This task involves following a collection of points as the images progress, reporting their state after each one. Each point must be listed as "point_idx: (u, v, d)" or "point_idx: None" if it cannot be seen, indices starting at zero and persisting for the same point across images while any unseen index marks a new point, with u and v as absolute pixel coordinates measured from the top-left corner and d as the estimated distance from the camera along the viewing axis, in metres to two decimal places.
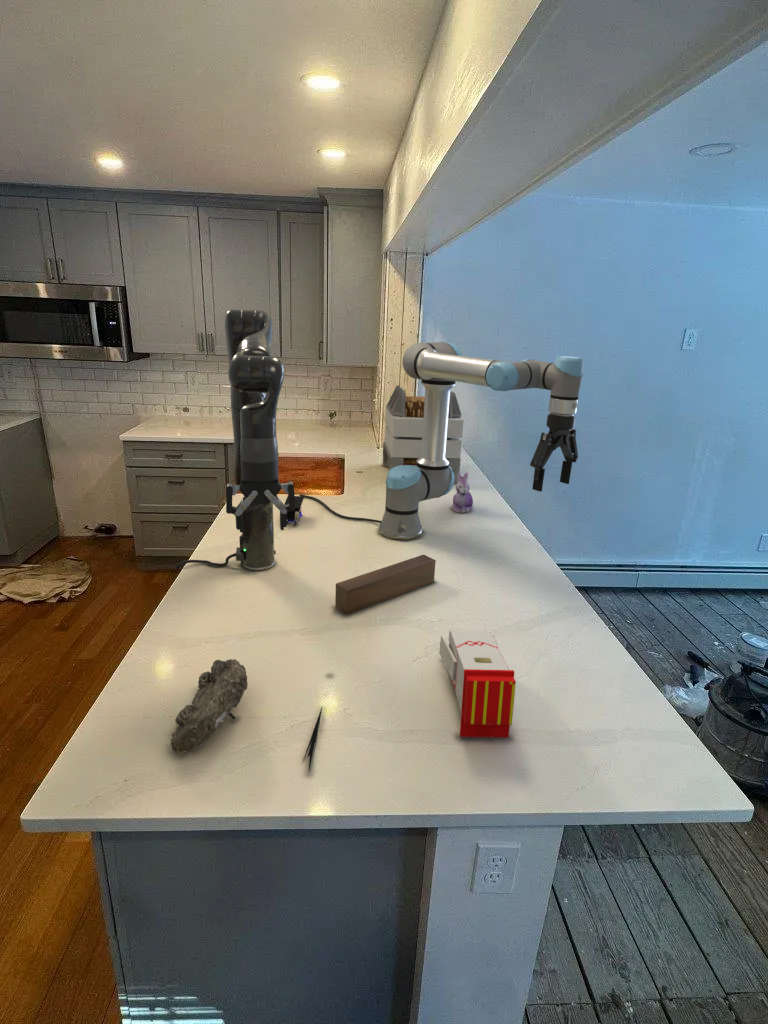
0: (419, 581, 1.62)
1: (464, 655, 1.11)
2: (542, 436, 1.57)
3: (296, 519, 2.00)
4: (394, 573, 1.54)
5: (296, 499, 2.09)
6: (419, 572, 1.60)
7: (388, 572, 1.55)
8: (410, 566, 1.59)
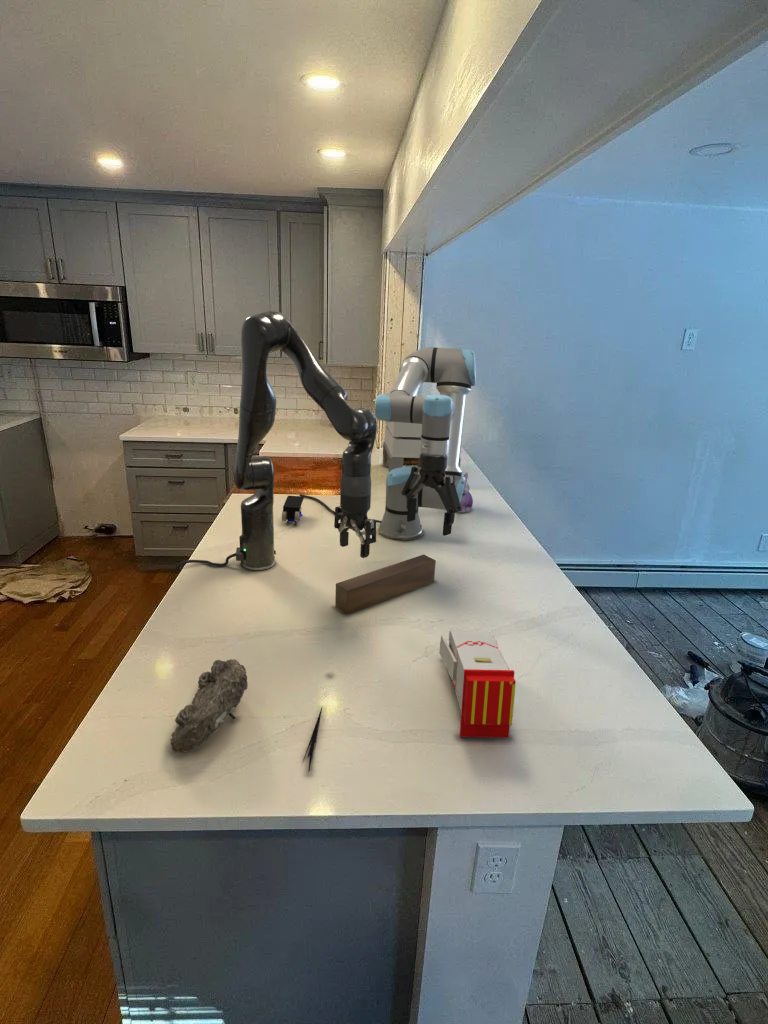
0: (419, 581, 1.62)
1: (464, 655, 1.11)
2: None
3: (296, 519, 2.00)
4: (394, 573, 1.54)
5: (296, 499, 2.09)
6: (419, 572, 1.60)
7: (388, 572, 1.55)
8: (410, 566, 1.59)
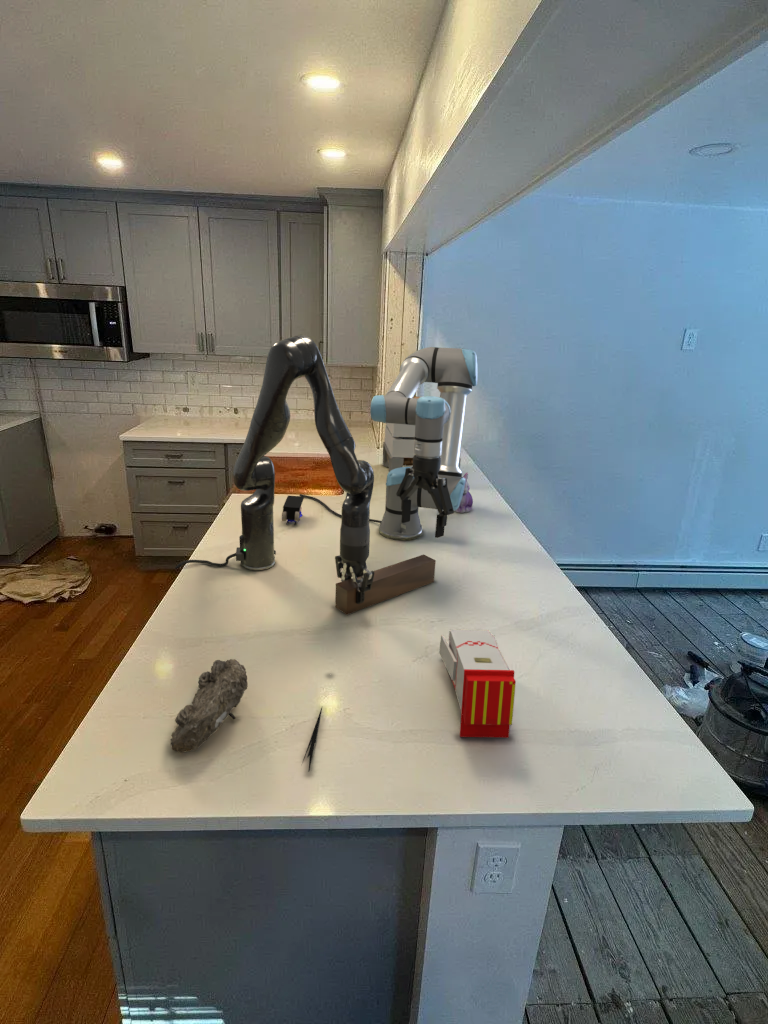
0: (419, 581, 1.62)
1: (464, 655, 1.11)
2: None
3: (296, 519, 2.00)
4: (394, 573, 1.54)
5: (296, 499, 2.09)
6: (419, 572, 1.60)
7: (388, 572, 1.55)
8: (410, 566, 1.59)
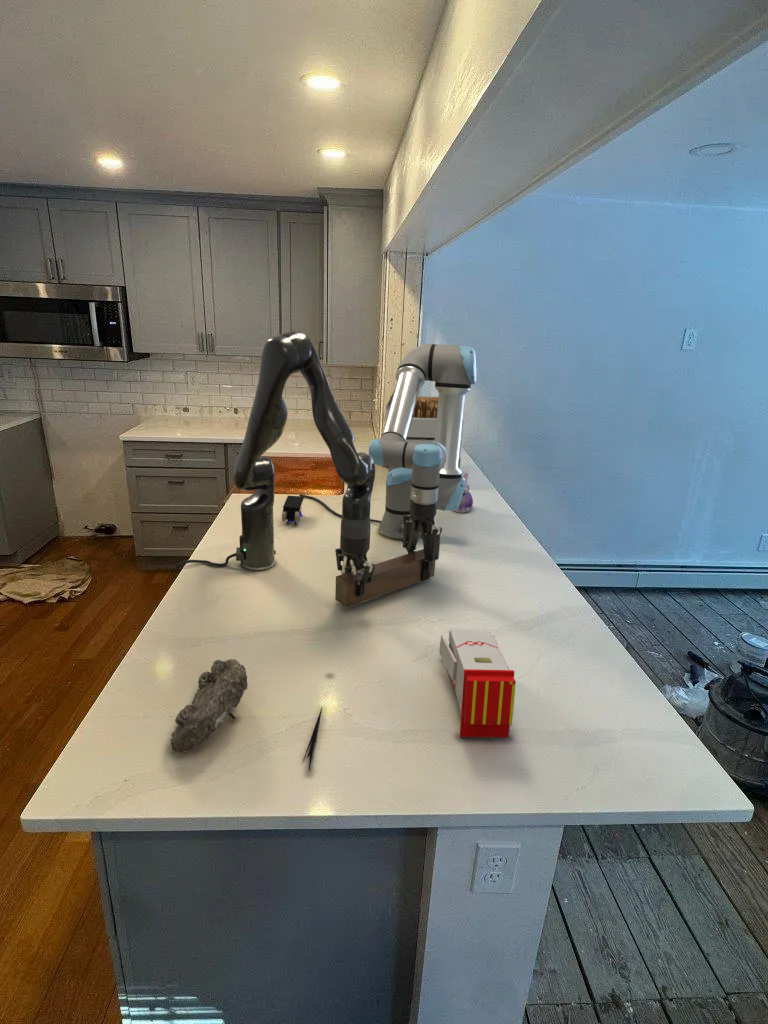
0: (420, 576, 1.61)
1: (464, 655, 1.11)
2: None
3: (296, 519, 2.00)
4: (394, 567, 1.54)
5: (296, 499, 2.09)
6: (419, 566, 1.60)
7: (389, 565, 1.54)
8: (410, 560, 1.58)
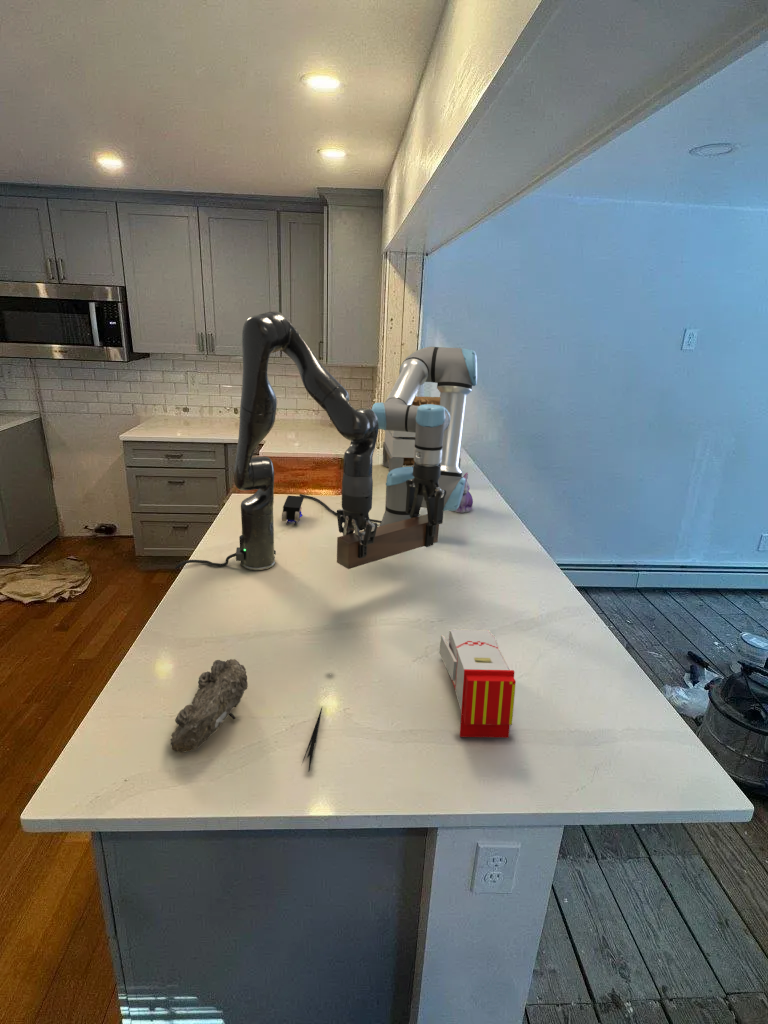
0: (423, 540, 1.58)
1: (464, 655, 1.11)
2: None
3: (296, 519, 2.00)
4: (397, 529, 1.50)
5: (296, 499, 2.09)
6: (423, 530, 1.56)
7: (391, 528, 1.51)
8: (414, 524, 1.55)
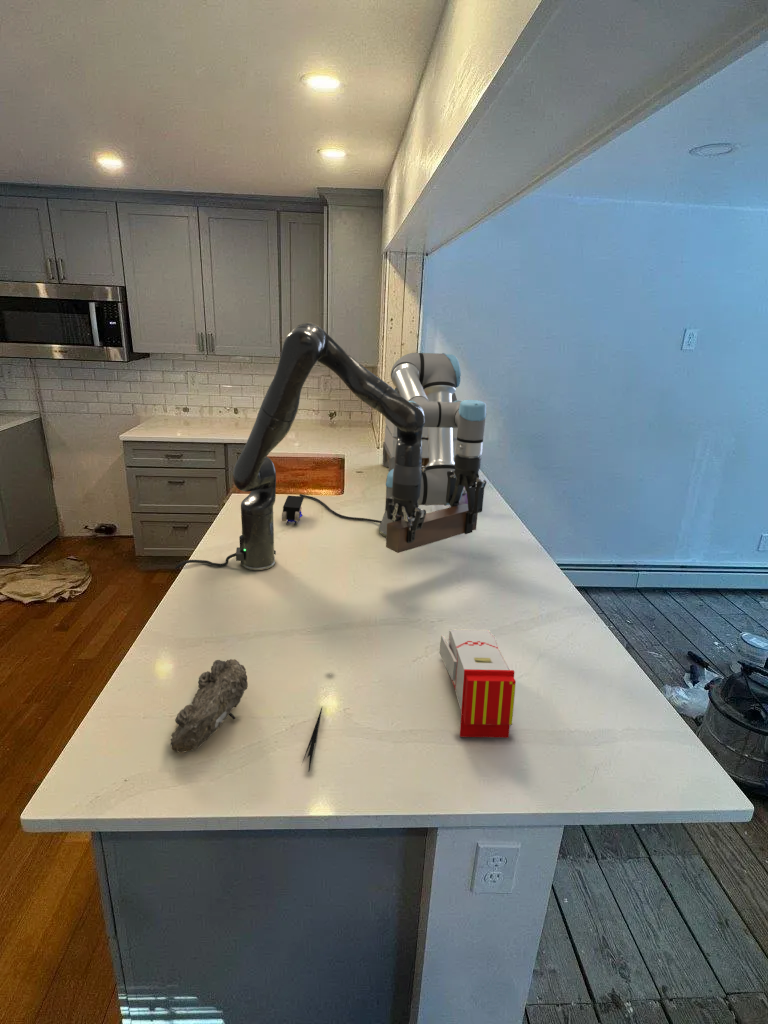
0: (463, 528, 1.68)
1: (464, 655, 1.11)
2: None
3: (296, 519, 2.00)
4: (441, 517, 1.60)
5: (296, 499, 2.09)
6: (463, 518, 1.67)
7: (435, 516, 1.61)
8: (455, 512, 1.65)
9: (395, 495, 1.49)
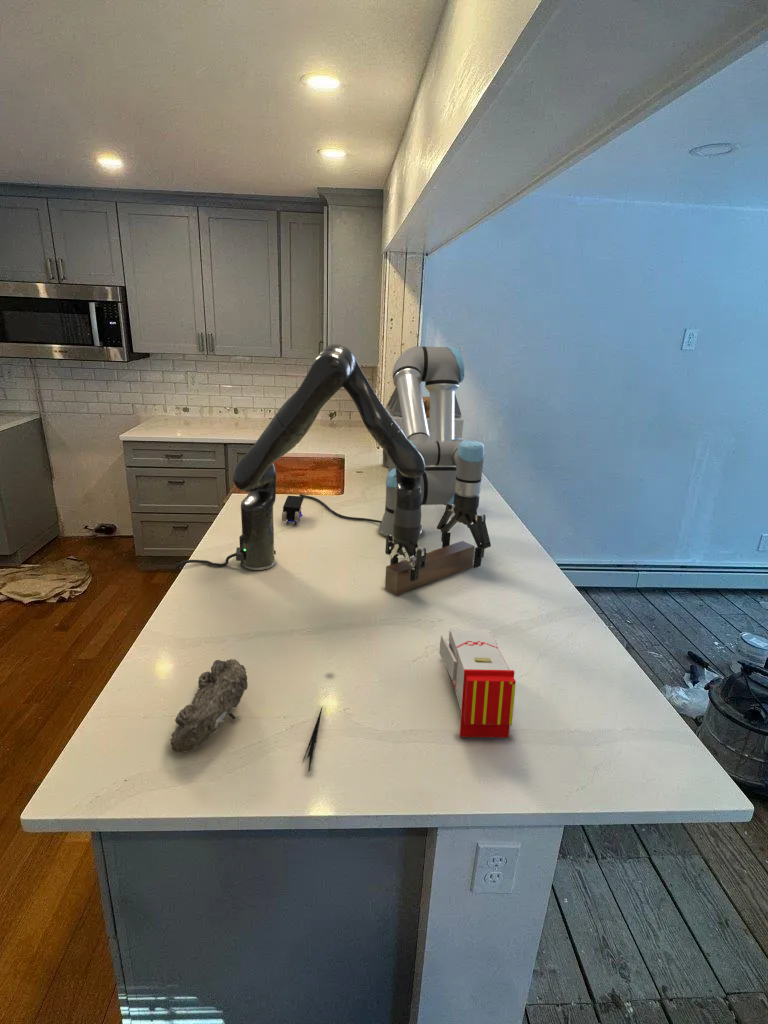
0: (460, 566, 1.73)
1: (464, 655, 1.11)
2: None
3: (296, 519, 2.00)
4: (438, 557, 1.65)
5: (296, 499, 2.09)
6: (460, 556, 1.71)
7: (433, 556, 1.66)
8: (452, 551, 1.70)
9: (396, 537, 1.53)
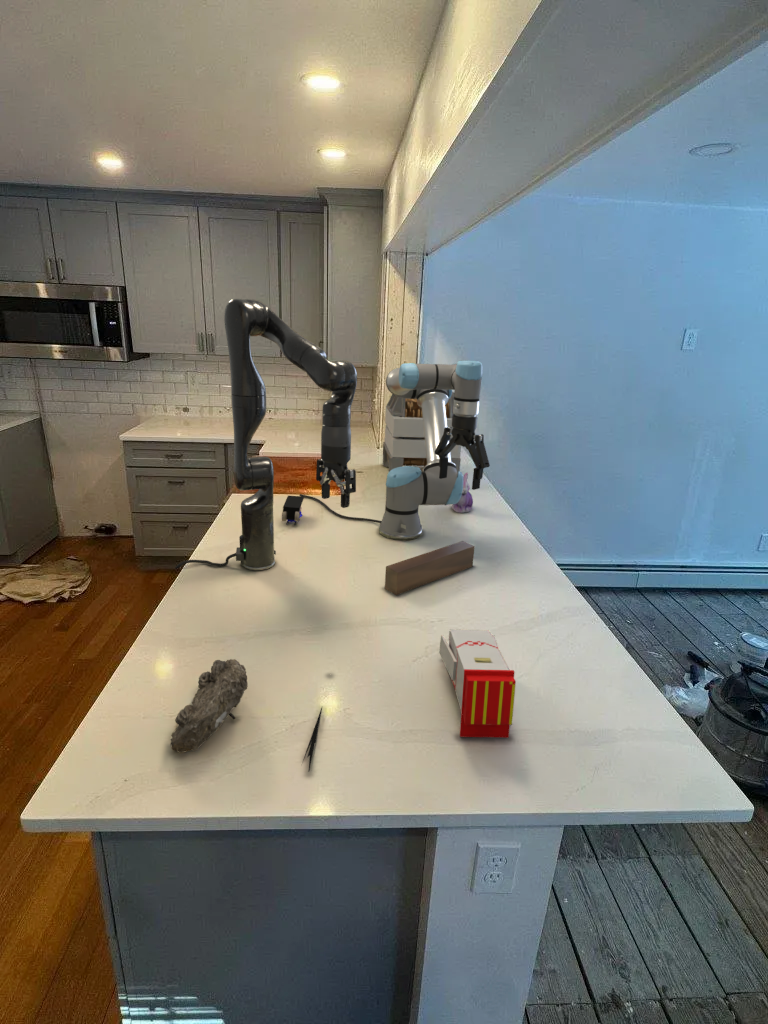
0: (460, 566, 1.73)
1: (464, 655, 1.11)
2: None
3: (296, 519, 2.00)
4: (438, 557, 1.65)
5: (296, 499, 2.09)
6: (460, 556, 1.71)
7: (433, 556, 1.66)
8: (452, 551, 1.70)
9: (323, 458, 1.42)
